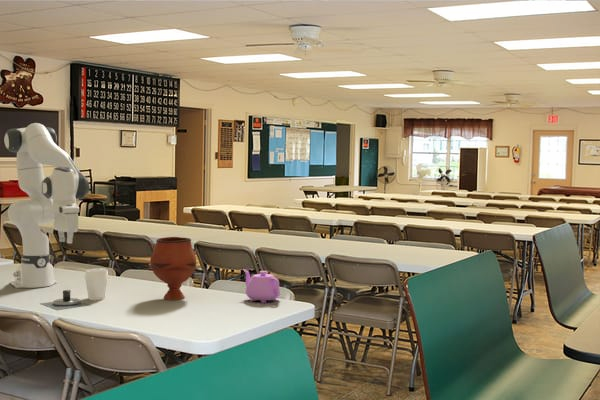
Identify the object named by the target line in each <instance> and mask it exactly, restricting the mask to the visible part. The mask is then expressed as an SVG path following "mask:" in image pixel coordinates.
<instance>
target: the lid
mask: <svg viewBox="0 0 600 400" xmlns="http://www.w3.org/2000/svg"><path fill="white" fill-rule="evenodd" d="M80 301H81V300H80V299H79V298H75V297H71V290H70V289H65V290H63V291H62V298H58V299H55V300H53V301H52V302H53V305H55V306H73V305H77V304H80Z"/></svg>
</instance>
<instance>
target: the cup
mask: <svg viewBox="0 0 600 400" xmlns="http://www.w3.org/2000/svg"><path fill="white" fill-rule="evenodd" d="M84 276H85V277H84V278H85V285H86V291H87V297H88V300H90V301H100V300H101V301H102V300H106V295H107V287H108V282H109V273H108V269H107V268H91V269H90V268H89V269H86V270H85V275H84Z"/></svg>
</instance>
